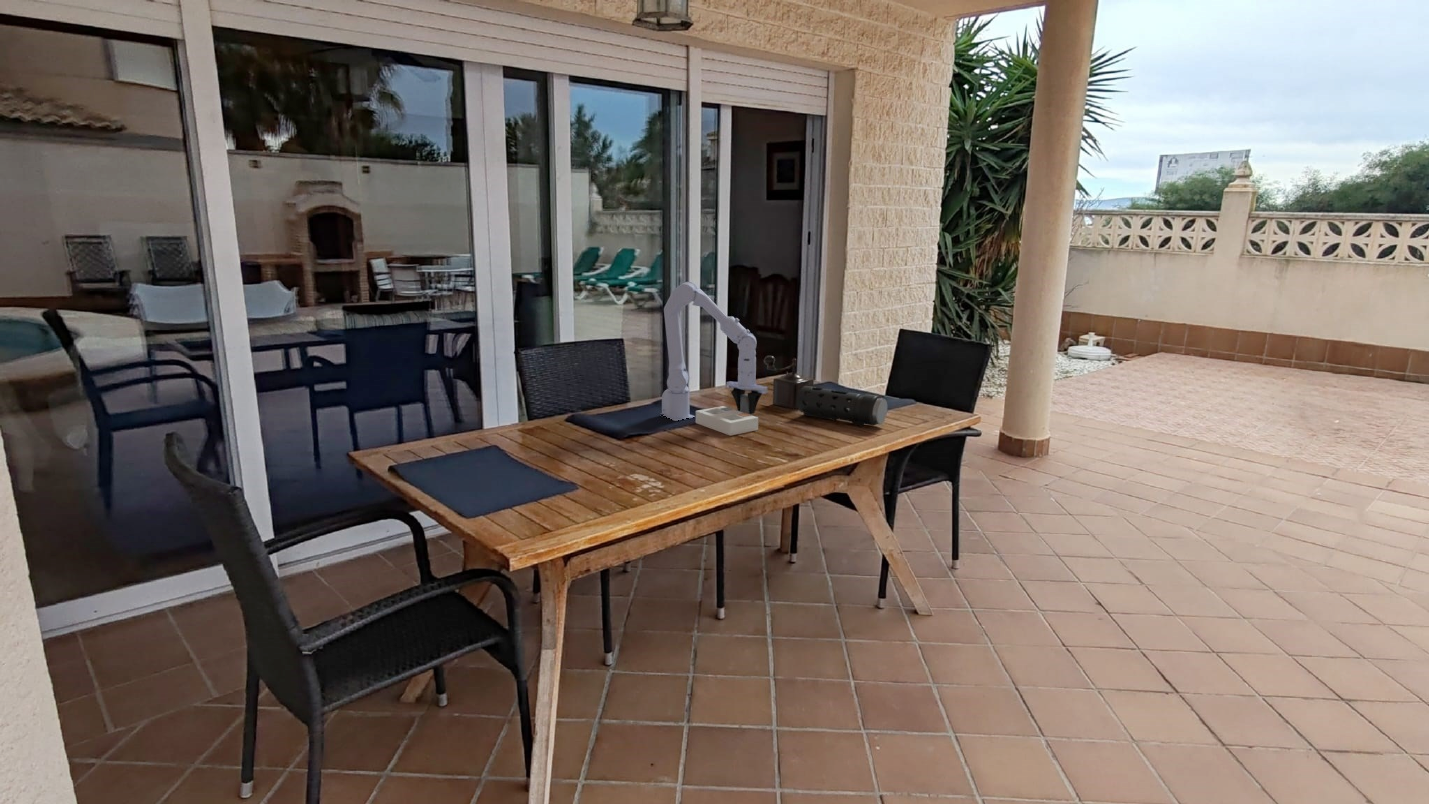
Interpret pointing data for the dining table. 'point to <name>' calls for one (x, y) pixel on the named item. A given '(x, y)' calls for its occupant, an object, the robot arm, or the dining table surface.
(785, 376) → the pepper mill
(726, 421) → the socket block
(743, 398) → the peg
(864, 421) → the muzzle brake
